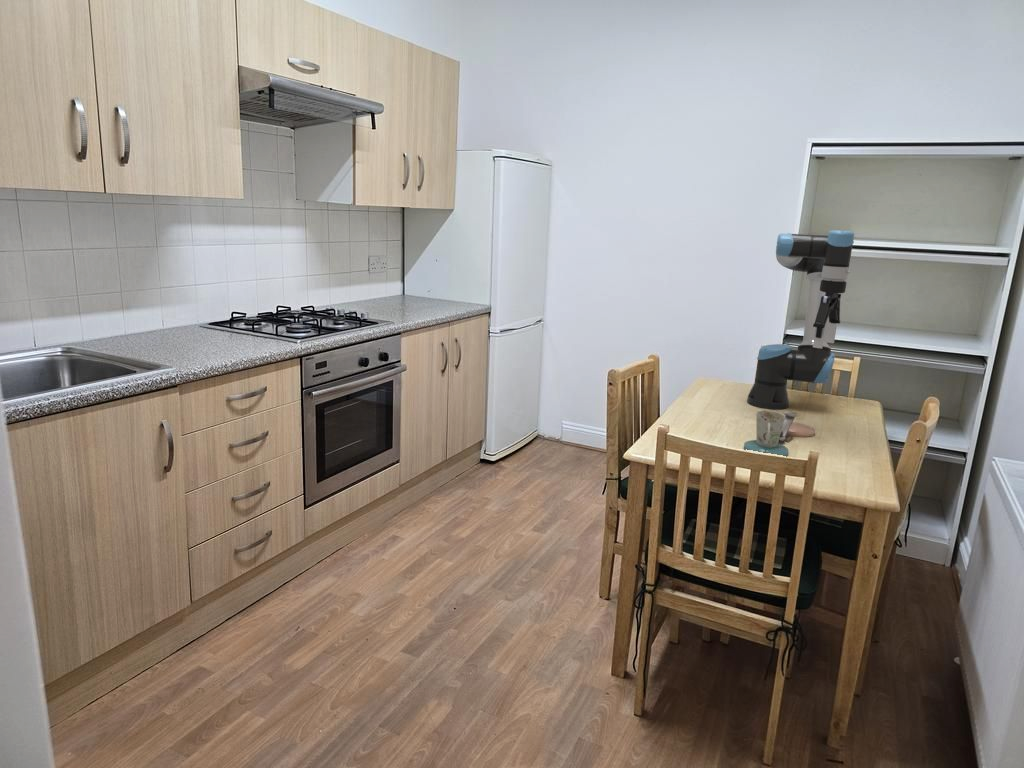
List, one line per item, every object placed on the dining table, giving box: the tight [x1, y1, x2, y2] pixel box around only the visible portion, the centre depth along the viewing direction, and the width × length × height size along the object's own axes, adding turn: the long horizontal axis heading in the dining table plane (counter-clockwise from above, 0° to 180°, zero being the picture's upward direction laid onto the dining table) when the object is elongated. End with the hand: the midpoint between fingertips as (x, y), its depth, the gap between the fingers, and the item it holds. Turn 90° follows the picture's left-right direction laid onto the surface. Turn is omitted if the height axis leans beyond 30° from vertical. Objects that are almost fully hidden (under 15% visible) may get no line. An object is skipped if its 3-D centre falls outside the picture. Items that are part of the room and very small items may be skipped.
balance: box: [778, 410, 798, 443], centre depth 227 cm, size 5×13×8 cm, turn 141°
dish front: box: [743, 439, 789, 457], centre depth 215 cm, size 13×13×1 cm
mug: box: [756, 410, 785, 448], centre depth 214 cm, size 8×13×10 cm, turn 162°
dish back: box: [788, 421, 816, 438], centre depth 237 cm, size 13×13×1 cm
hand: (823, 345), depth 226 cm, fingers open, 13 cm apart
